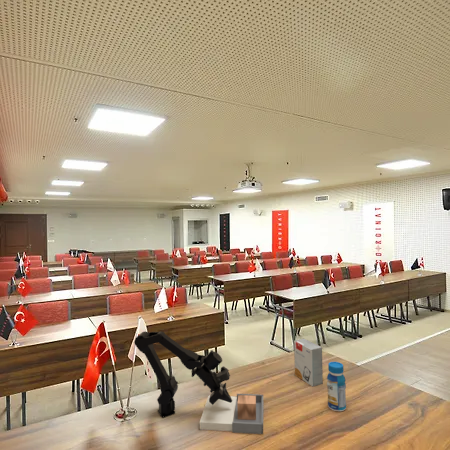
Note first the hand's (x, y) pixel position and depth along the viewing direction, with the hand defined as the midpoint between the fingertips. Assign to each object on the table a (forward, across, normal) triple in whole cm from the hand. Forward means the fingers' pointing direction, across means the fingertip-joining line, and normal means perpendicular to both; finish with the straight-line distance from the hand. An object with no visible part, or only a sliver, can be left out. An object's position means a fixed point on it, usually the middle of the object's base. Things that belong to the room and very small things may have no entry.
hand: (231, 401), depth 147 cm
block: (+4, 0, 0) cm, 4 cm away
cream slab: (+1, 0, +8) cm, 9 cm away
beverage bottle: (+39, +11, -30) cm, 50 cm away
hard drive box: (+32, +38, -23) cm, 55 cm away
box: (+10, 0, -1) cm, 10 cm away
